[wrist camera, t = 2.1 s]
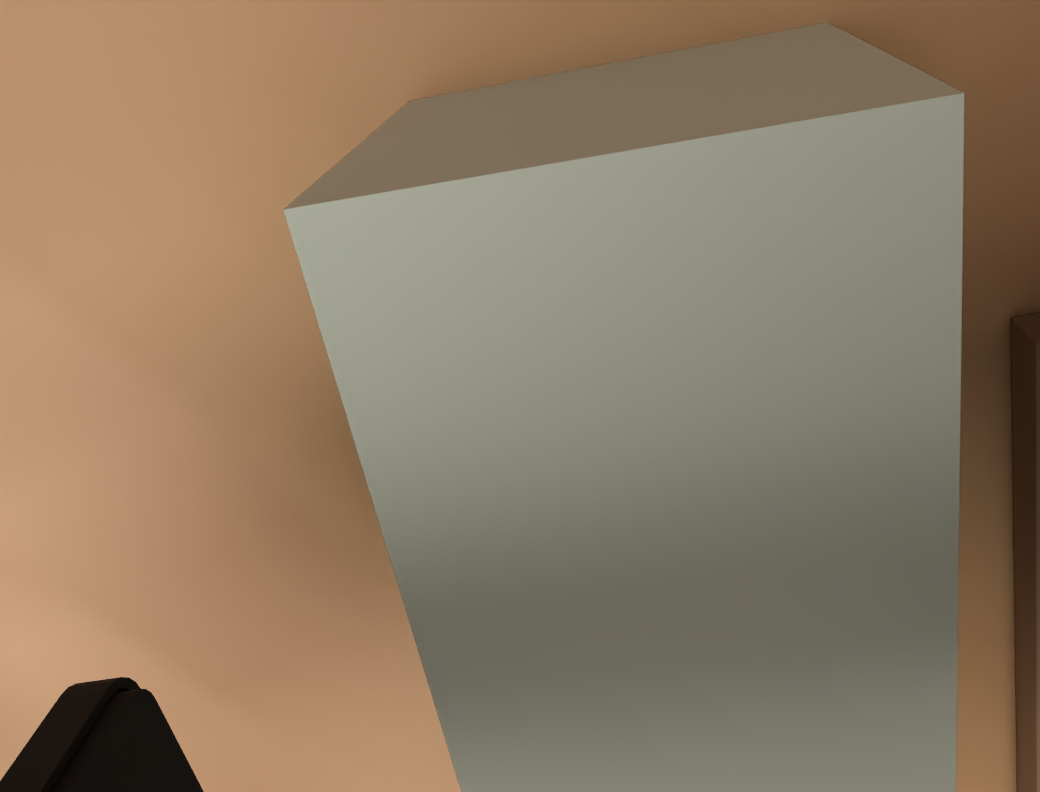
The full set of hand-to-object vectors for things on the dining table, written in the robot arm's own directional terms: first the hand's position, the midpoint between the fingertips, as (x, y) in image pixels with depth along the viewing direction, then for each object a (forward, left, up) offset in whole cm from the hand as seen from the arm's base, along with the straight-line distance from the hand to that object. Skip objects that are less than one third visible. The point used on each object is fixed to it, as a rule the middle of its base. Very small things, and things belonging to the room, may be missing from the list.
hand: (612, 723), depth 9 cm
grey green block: (-1, 0, -7) cm, 7 cm away
